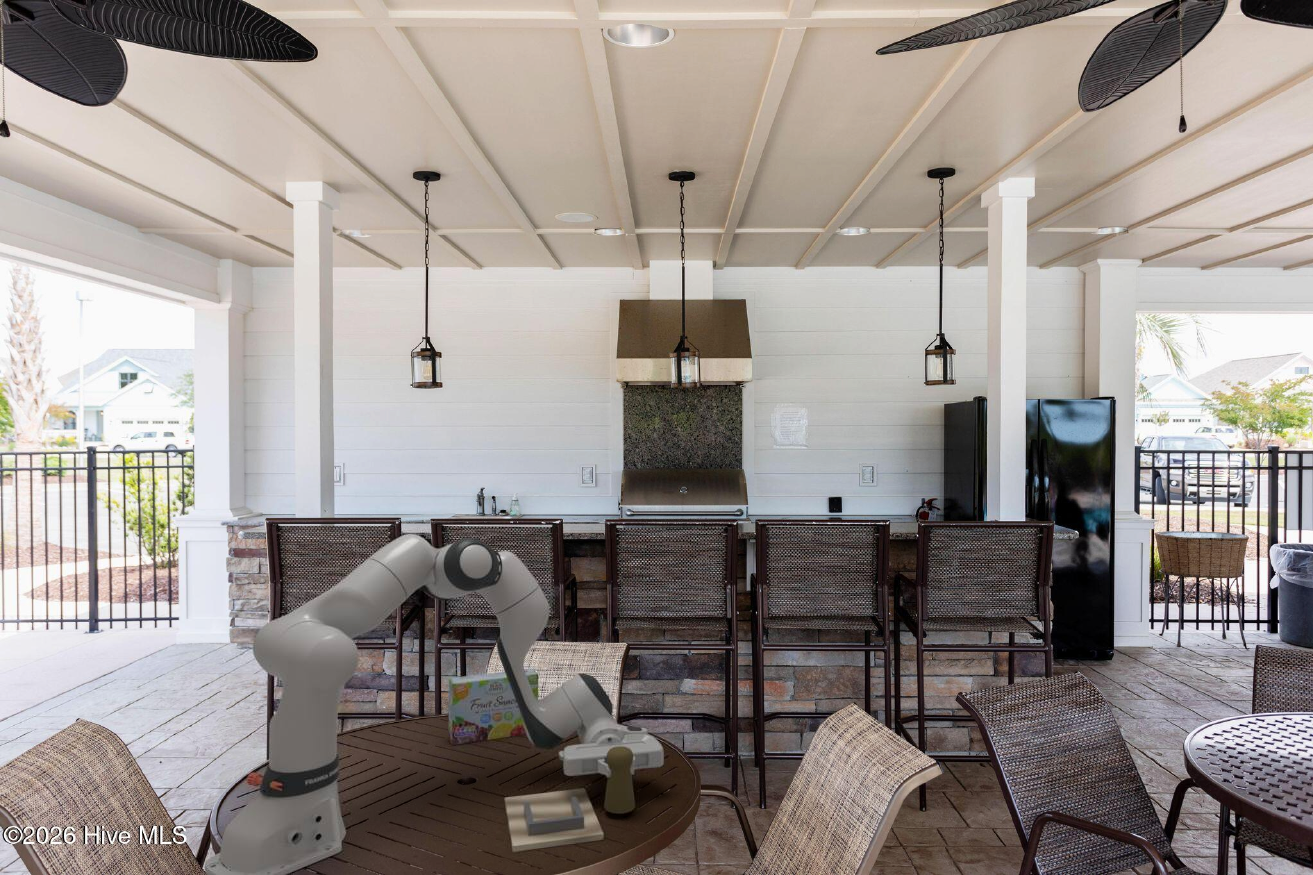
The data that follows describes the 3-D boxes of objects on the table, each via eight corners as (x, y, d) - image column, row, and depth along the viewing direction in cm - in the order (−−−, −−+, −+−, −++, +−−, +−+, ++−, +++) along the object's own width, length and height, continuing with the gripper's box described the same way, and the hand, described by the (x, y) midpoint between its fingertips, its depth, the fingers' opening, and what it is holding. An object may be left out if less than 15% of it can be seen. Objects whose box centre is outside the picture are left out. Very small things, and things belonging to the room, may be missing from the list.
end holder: (523, 813, 145) (523, 802, 145) (576, 806, 148) (576, 796, 148) (528, 835, 137) (528, 824, 137) (584, 828, 139) (584, 817, 139)
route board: (504, 802, 152) (504, 797, 152) (584, 793, 156) (584, 788, 156) (512, 851, 133) (512, 846, 133) (603, 839, 137) (603, 833, 137)
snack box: (452, 746, 183) (452, 683, 183) (448, 739, 188) (448, 677, 188) (538, 733, 192) (538, 672, 192) (532, 726, 197) (532, 666, 197)
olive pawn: (636, 799, 150) (636, 743, 151) (633, 814, 144) (634, 755, 145) (605, 798, 151) (606, 742, 151) (602, 812, 145) (602, 754, 145)
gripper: (557, 735, 158) (566, 760, 144) (653, 727, 163) (671, 750, 150) (556, 766, 158) (566, 794, 144) (653, 757, 163) (671, 783, 149)
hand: (620, 772), depth 147 cm, fingers closed on olive pawn, 2 cm apart
